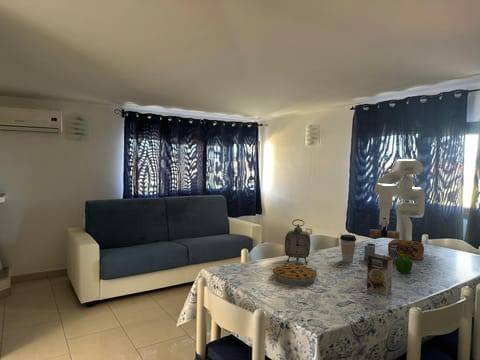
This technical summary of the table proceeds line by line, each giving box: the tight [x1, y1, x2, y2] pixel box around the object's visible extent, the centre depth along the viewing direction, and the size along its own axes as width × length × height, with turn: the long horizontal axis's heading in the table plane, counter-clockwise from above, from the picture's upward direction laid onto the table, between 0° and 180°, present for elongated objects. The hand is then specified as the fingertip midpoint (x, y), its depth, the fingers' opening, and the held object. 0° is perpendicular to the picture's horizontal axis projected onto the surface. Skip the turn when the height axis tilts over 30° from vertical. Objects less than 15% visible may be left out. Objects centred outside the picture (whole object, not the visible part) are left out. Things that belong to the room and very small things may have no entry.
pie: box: [272, 263, 318, 286], centre depth 167 cm, size 22×22×5 cm
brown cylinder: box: [369, 228, 399, 240], centre depth 199 cm, size 16×4×4 cm, turn 64°
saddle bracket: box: [389, 246, 397, 266], centre depth 197 cm, size 9×3×9 cm, turn 154°
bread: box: [387, 239, 425, 260], centre depth 213 cm, size 19×11×10 cm, turn 40°
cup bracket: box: [363, 242, 376, 262], centre depth 203 cm, size 9×5×9 cm, turn 154°
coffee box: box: [366, 253, 394, 296], centre depth 152 cm, size 9×6×16 cm
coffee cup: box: [339, 234, 357, 263], centre depth 199 cm, size 9×9×15 cm
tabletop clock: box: [284, 218, 311, 264], centre depth 196 cm, size 14×9×25 cm, turn 76°
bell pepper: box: [395, 254, 414, 275], centre depth 179 cm, size 8×8×10 cm
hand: (384, 235), depth 199 cm, fingers closed on brown cylinder, 4 cm apart
